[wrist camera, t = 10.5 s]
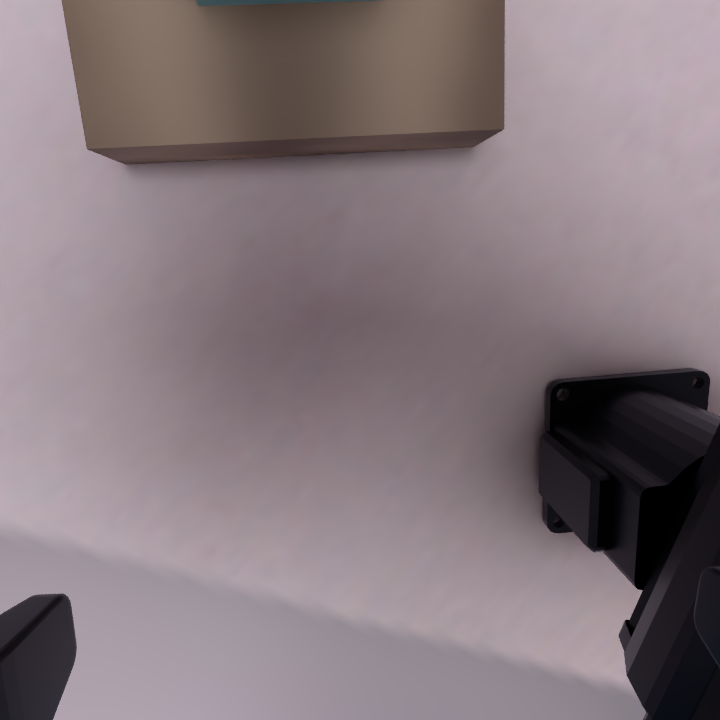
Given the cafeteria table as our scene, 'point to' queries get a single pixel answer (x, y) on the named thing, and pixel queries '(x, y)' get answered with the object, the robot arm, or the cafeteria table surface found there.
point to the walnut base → (285, 77)
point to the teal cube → (263, 2)
